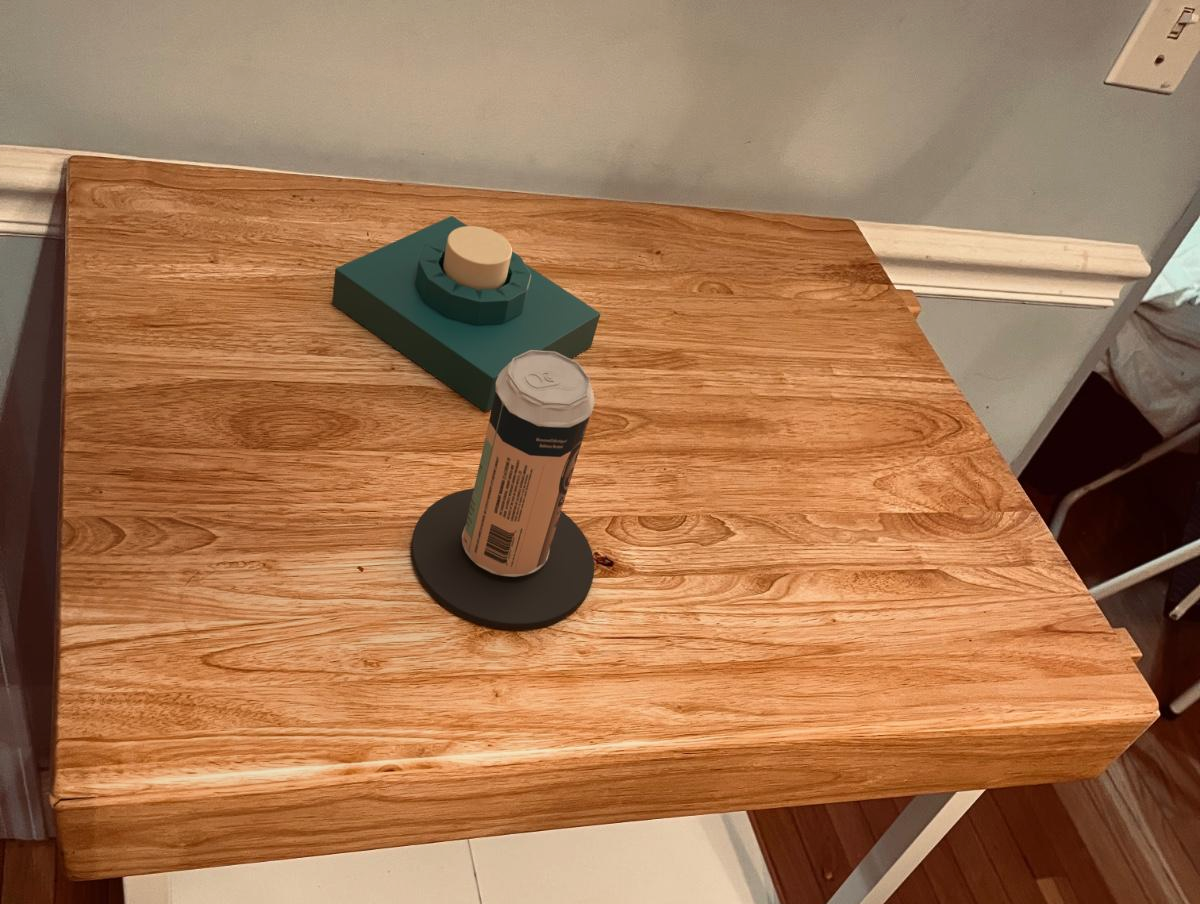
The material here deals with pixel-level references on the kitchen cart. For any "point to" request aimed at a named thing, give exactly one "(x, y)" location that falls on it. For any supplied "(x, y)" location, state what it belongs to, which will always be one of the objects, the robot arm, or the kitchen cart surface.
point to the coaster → (494, 595)
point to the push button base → (459, 312)
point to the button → (477, 258)
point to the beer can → (527, 462)
